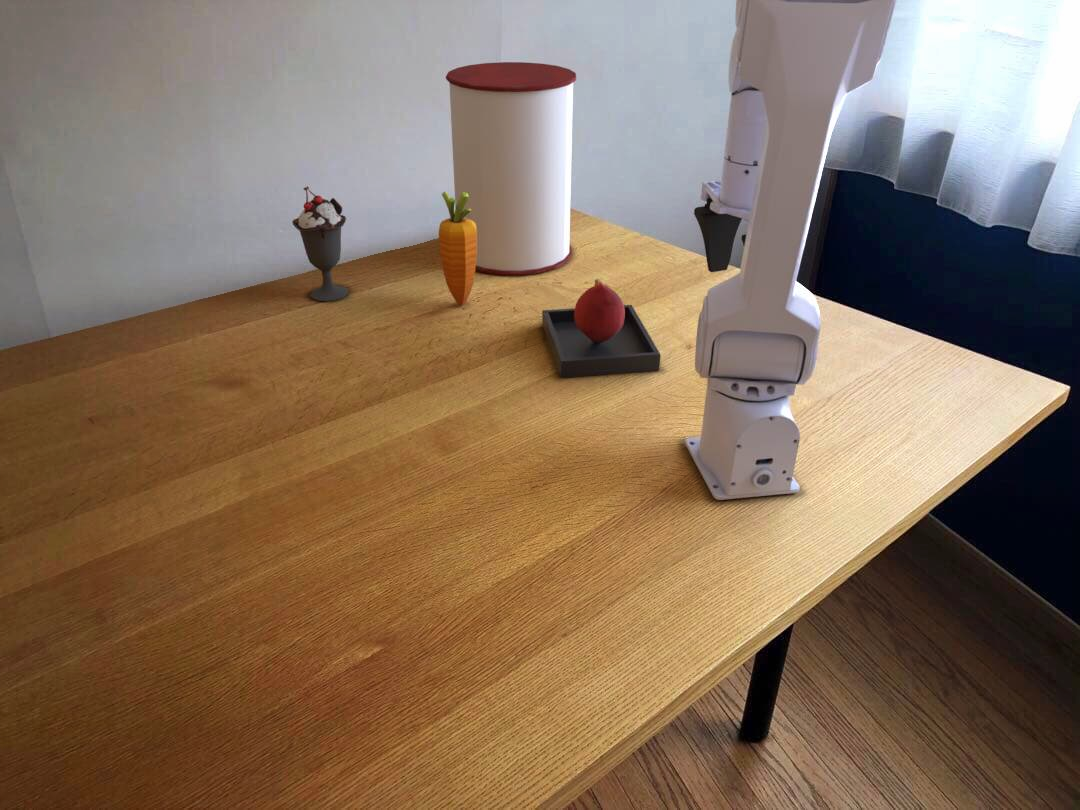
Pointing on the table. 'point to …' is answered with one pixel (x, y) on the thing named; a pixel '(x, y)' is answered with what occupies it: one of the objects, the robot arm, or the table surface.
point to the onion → (599, 313)
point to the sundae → (322, 242)
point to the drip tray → (599, 346)
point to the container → (514, 162)
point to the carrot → (458, 248)
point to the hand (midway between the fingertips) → (736, 282)
